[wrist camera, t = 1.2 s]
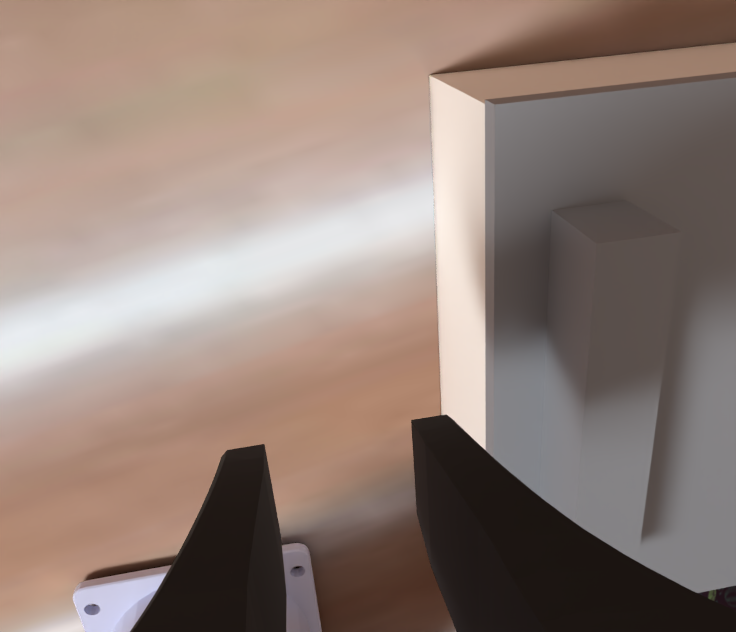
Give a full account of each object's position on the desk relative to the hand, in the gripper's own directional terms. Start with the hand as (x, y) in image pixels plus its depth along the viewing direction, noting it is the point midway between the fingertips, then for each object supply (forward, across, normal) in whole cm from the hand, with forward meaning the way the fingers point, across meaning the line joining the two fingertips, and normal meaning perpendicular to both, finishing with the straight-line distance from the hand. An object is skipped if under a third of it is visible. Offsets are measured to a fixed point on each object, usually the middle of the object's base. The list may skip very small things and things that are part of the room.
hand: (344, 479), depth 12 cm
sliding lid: (+4, -12, +2) cm, 13 cm away
